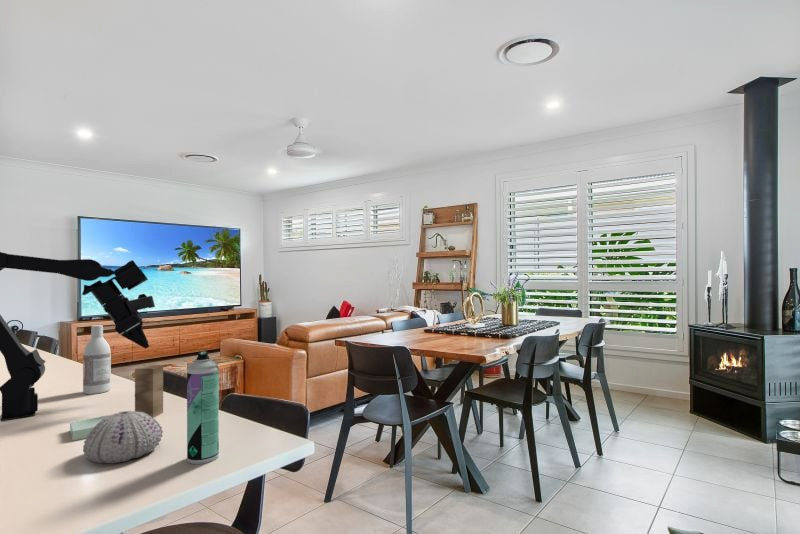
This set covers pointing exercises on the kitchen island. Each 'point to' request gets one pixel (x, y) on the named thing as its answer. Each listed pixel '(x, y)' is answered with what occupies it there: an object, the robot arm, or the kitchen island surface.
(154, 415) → the walnut block
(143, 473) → the kitchen island surface
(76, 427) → the green plinth
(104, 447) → the sea urchin shell
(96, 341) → the bath foam
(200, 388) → the spray can
